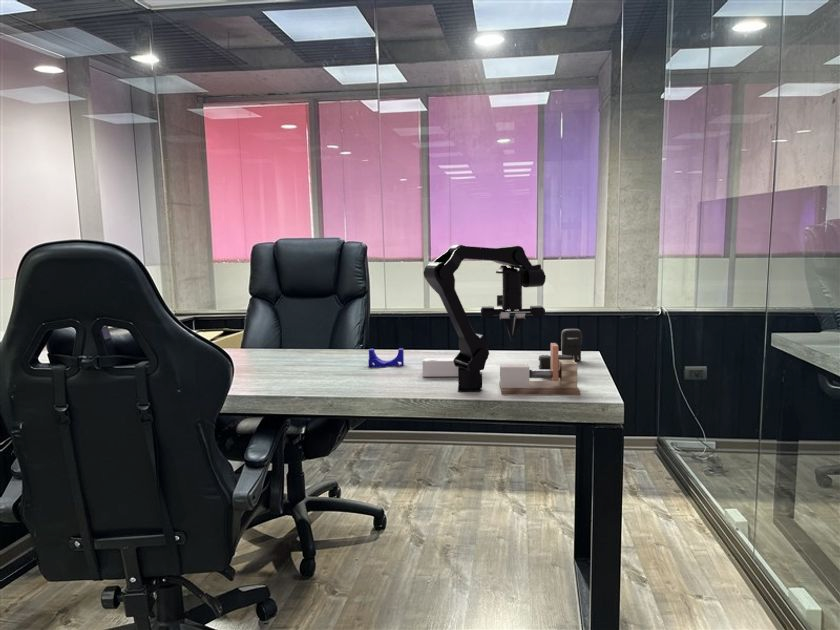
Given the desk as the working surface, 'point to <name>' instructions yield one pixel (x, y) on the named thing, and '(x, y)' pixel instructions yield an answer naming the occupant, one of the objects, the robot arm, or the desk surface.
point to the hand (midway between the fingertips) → (512, 340)
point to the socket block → (568, 374)
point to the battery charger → (571, 343)
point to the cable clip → (381, 363)
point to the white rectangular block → (514, 375)
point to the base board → (542, 389)
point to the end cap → (546, 360)
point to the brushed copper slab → (553, 371)
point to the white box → (439, 367)
